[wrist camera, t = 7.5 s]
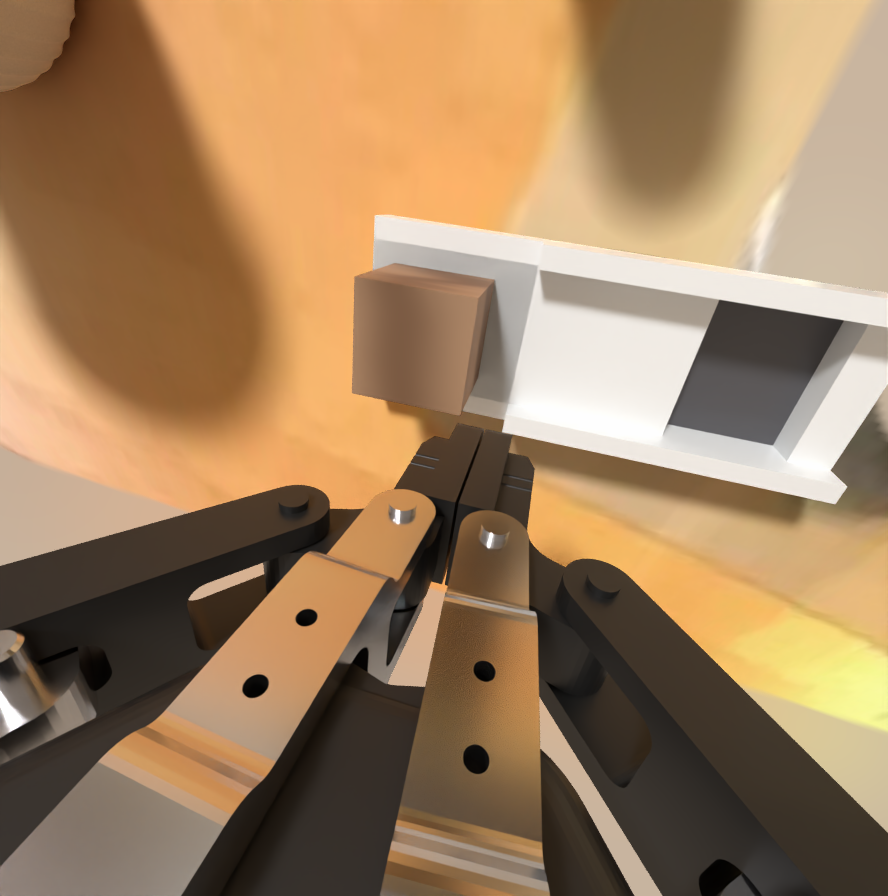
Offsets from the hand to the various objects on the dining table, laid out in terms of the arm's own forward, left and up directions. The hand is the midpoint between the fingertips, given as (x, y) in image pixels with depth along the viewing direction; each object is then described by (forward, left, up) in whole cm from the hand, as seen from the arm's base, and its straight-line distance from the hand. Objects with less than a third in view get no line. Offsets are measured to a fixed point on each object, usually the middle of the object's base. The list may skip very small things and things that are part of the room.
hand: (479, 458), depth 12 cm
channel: (-4, 0, -14) cm, 15 cm away
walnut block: (+4, 0, -12) cm, 13 cm away
